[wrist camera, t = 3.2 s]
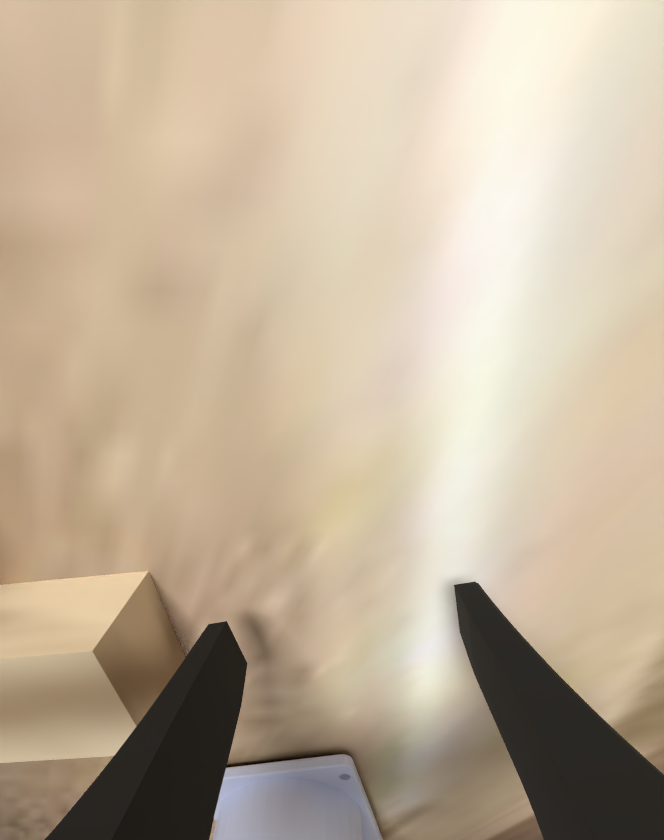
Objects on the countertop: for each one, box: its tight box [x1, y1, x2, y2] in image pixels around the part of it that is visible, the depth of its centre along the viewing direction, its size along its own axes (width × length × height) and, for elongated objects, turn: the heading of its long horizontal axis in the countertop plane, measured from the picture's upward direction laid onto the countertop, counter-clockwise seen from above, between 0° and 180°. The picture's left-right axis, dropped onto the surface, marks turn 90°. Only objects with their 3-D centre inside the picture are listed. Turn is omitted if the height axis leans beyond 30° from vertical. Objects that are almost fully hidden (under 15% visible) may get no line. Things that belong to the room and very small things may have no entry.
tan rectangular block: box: [0, 571, 186, 763], centre depth 11 cm, size 5×8×3 cm, turn 97°
